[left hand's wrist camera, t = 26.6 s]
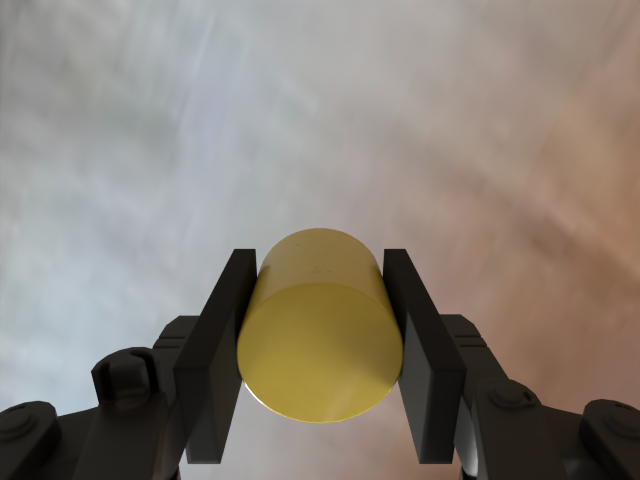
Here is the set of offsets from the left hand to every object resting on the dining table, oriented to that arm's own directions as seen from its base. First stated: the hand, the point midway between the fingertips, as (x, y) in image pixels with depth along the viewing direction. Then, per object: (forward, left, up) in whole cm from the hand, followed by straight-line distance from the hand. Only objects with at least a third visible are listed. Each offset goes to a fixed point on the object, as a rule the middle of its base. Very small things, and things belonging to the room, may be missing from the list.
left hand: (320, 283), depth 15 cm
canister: (0, 0, 0) cm, 0 cm away
